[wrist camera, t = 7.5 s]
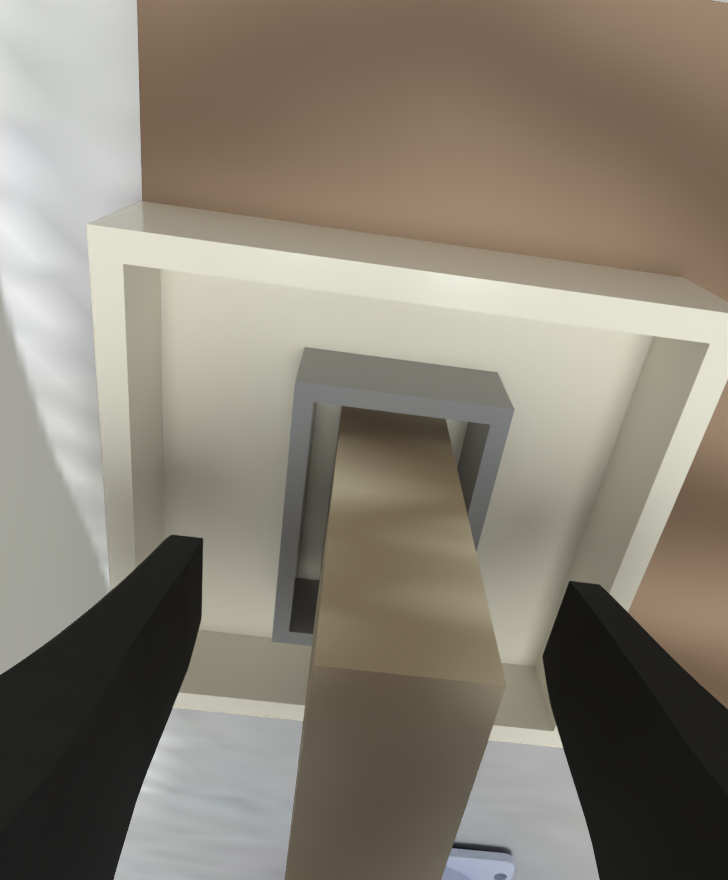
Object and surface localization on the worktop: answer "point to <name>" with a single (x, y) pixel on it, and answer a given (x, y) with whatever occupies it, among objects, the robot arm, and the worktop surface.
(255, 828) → the worktop surface
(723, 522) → the board
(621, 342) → the cream square tray
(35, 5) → the worktop surface
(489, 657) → the tall bronze block
